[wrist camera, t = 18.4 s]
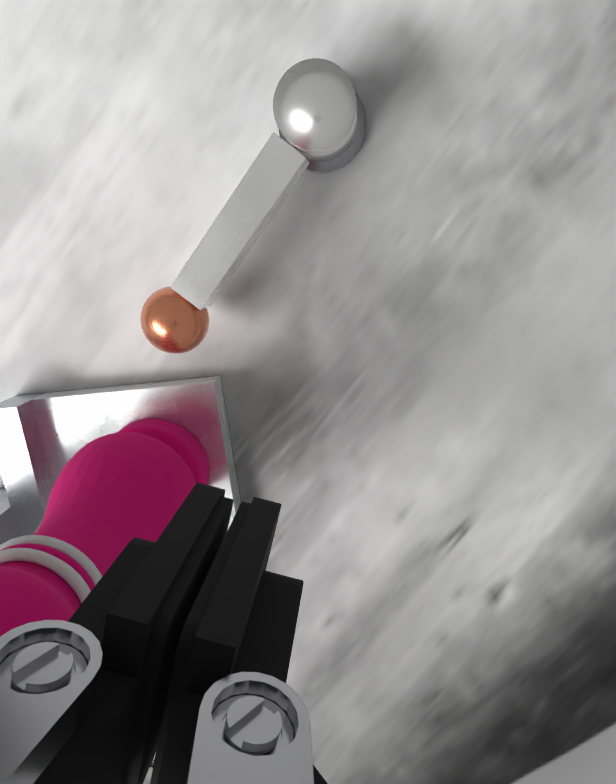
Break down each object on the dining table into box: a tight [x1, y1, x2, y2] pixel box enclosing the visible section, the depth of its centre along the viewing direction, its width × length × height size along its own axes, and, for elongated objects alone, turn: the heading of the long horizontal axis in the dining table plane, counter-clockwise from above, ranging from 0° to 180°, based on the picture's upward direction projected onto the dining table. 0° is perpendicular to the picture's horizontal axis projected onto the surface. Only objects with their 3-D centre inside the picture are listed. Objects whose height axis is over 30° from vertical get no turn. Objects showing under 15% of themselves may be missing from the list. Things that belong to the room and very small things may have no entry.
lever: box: [141, 58, 357, 353], centre depth 28 cm, size 16×4×4 cm, turn 143°
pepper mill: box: [0, 419, 209, 637], centre depth 24 cm, size 7×7×20 cm
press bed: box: [0, 93, 366, 545], centre depth 27 cm, size 26×26×13 cm
